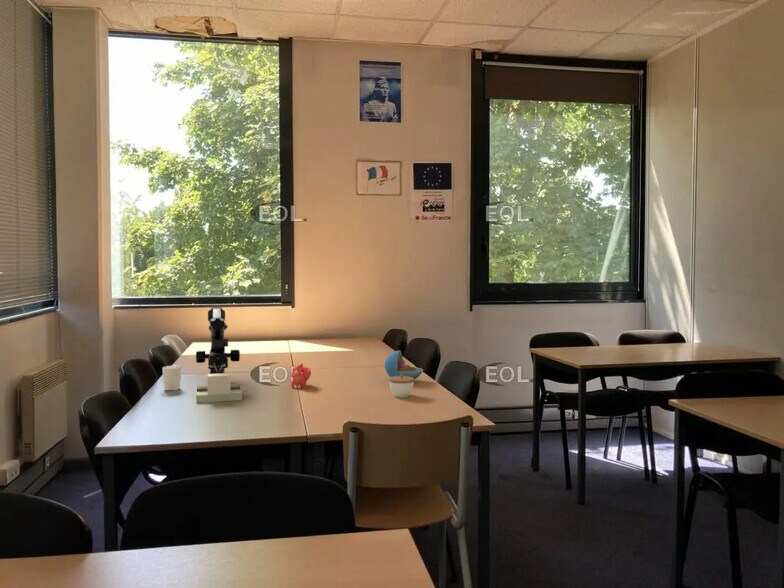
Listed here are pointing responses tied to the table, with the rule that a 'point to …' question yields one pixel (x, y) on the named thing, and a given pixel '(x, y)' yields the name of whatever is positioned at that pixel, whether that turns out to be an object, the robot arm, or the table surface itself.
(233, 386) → the strip
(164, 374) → the white cup
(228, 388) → the cream block
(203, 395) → the pad
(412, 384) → the lidded jar
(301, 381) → the anatomical heart
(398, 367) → the educational model
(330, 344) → the table surface
